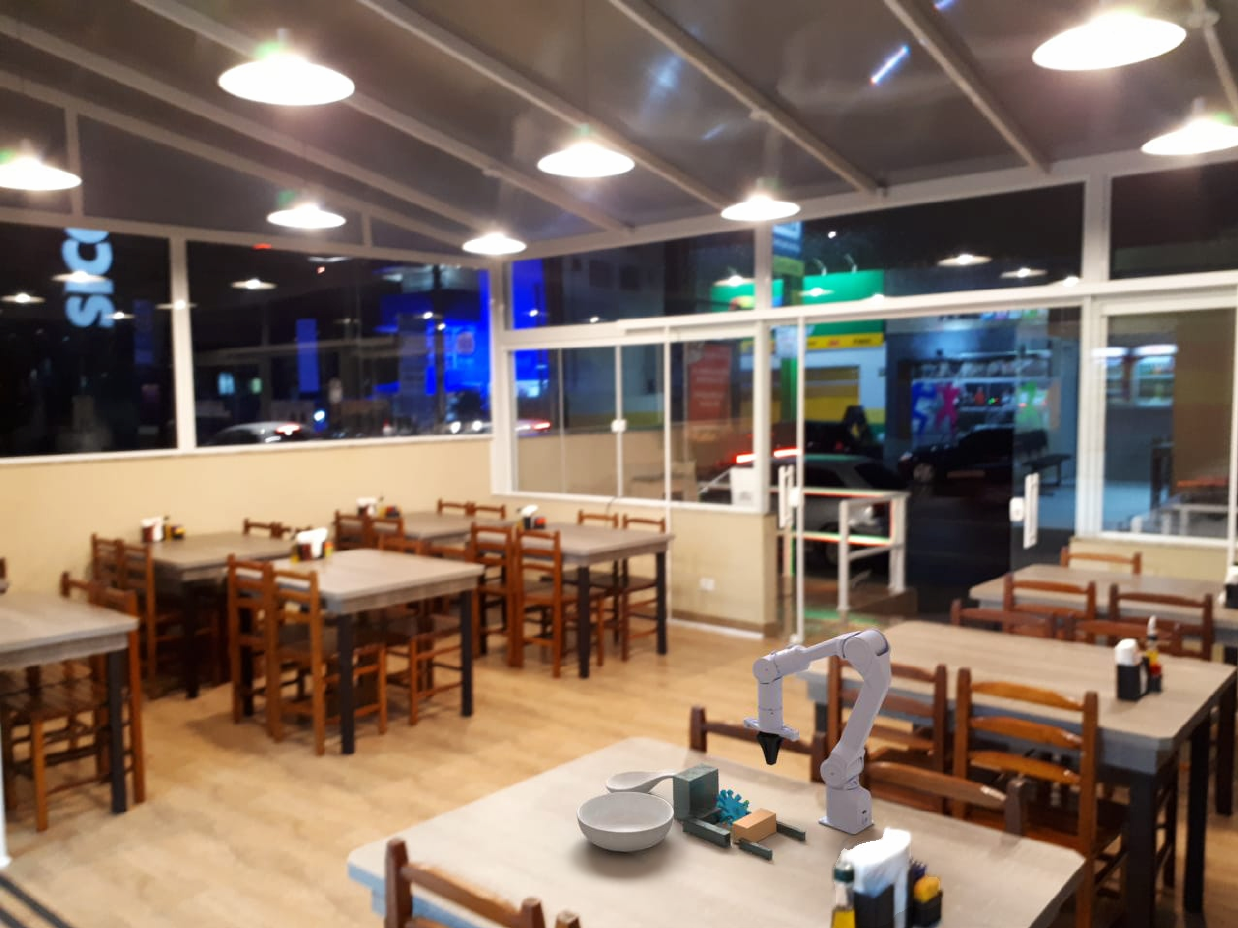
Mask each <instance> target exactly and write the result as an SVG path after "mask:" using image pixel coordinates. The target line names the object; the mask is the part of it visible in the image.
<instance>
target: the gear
mask: <svg viewBox="0 0 1238 928" xmlns="http://www.w3.org/2000/svg"><path fill="white" fill-rule="evenodd" d="M734 794H735V793H734V790H732V789H728V790H726V789H721V790H719V795H718V796H717V797H716V798H717V799H718V800H719V802H718V803H717V807H718V808H720V809H723V810H724V811H723V812H721V815H722V817H723V818H721V819H720V820H719V822H720V823H719V824H721V825H723V824H725V823H726V821H727V824H728V825H729V826H730V827H731V828H733V826H732V823H733V822H735V821H737V820H739V819H741V818H743V817H745V816H747V815H749V814H751V813H753V811H749V810H748V808H749V804H750V801H749V799H745V800H744V801H743V802H740V801H741V800H742V798H743V797H742V796H741V795H740V794H739V793H737V794H735V796H734V797H733V795H734ZM723 798H724V799H723Z"/></svg>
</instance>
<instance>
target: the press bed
mask: <svg viewBox="0 0 1238 928" xmlns="http://www.w3.org/2000/svg"><path fill="white" fill-rule="evenodd" d="M719 794H720V783H719V768H717V767H715V766H711V765H709V764H706V763H703V762H702V763H701V762H700V763H699V764H696V765H694V766H691V767H690V768H687V769H685V770H682V771H681V772H680V773H678V774H675V775H673V778H672V799H673V801H672V802H673V805H672V807H673V809H674V818H673V820H676V821H679V822H680V823H682V832H683V833H685V832H686V833H685V834H687V833H688V834H687V835H690V836H693V837H695V838H698V839H699V840H702V841H704V842H707V843H709V844H712V845H714V846H717V847H719V848H722V849H724V850H725V849H728V848H729V847H731V846H732V845H731V844H732V839H731V838H732V834H731V831H729V830H727V829H725V828H722V827H719V826H717V825H718V824H721V823H720V822H719V820H720V819H721V818H723V817H722V815H721V812H723V811H724V810H723V809H720V808H718V807H717V803H718V802H719V800H718V799H717V798H716V797H717V796H718V795H719ZM723 799H724V798H723ZM775 833H779V834H782V835H784V836H787V837H789V838H792V839H795V840H798V841H799V842H805V841H806V840H807V839H806V837H807V836H806V835H807V834H806V830H804V829H801V828H798V827H795V826H792V825H791V824H787V823H785V822H781V821H780V820H777V819H776V832H775ZM738 849H739V850H741V851H744V852H747V853H749V854H752V855H754V856H757V857H759V858H761V859H763V860H767V861H770V862H771V861H772V860H773V849H772V848H769V847H766V846H765V845H762V844H758V842H756V843H754V842H752V841H749V840H747V839H744V838H740V839H739V843H738Z"/></svg>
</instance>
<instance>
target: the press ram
mask: <svg viewBox="0 0 1238 928" xmlns="http://www.w3.org/2000/svg"><path fill="white" fill-rule="evenodd" d="M776 820H777V812H773V811H771V810H768V809H765V808H762V807H761V808H759V809H756V810H755V811H752V813H751V814H749V815H747V816H745V817H743V818H741V819H739V820H737V821H735V822H733V823H732V842H735V843H737V844H739V839H740V838H744V839H747V840H749V841H752V842H754V843H758V842H759V841H761V840H763V839H765V838H767V837H768V836H769V837H770V835H772V834H774V833H777V832H776Z"/></svg>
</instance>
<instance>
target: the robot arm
mask: <svg viewBox="0 0 1238 928" xmlns="http://www.w3.org/2000/svg"><path fill="white" fill-rule="evenodd" d="M891 650H892V647H891V644H890V643H889V641H888V638H887V637H886V635H885V634H884V633H883V632H882V631H881V630H879V629H878V628H873V627H872V628H871V627H870V628H868V629H865V630H864V631H863V632H862V630H858V631H852V632H848V633H844V634H841V635H838V636H836V637H833V638H830V639H827V640H825V641H822V642H820V643H817V644H814V645H812V646H809V647H807V648H806V647H805V646H803V645H801V644H797V645H795V644H794V643H791V644H789V645H787V646H786V648H785V649H782V650H779V651H777V650H772V651H771V652H770V653H769V654H768V655H765V656H762V657H759V658H758V659H756V661H754V663H753V664H752V673H753V676H754V677H755V679H756V681H757V718H752V717H746V718H744V719H743V728H745V729H748V728H750V729H754V730H757V731H758V733H757V734H756V735H755V738H756V740H757V741H758V744H759V745H760V748H761V750H762V753H763V756H764V759H765V762H766V765H768V766H773V765H775V764H777V760H778V756H779V753H780V749H781V747H782V745H783V742H784V740H785V739H789V740H790V741H791V742H796V741H797V740H798V741H799V739H800V732H799V731H800V730H796V729H794V728H792V727H790V726H788V725H786V724H785V722H784V714H783V713H784V706H783V704H784V703H783V696H784V695H783V683H784V682H783V680H784V677H787V676H791V675H793V674H797V673H799V672H803V671H806V670H808V669H809V667H810V666H811V663H812V662H815V661H819V660H822V659H825V658H828V657H833V656H838V657H839V658H840V659H841V660H845V659H846V660H847V662H848V663H849V664H850V665H851V666H852V667H853V668H854V670H855V671H856V672H857V673H858V674H859V675H860V676H861V677H862V680H863V683H862V686H861V688H860V691H859V694H858V696H857V698H856V701H855V703H854V706H853V707H852V711H851V712H850V715H849V717H848V721H847V723H846V724H845V727H844V730H843V732H842V734H841V737H840V740H839V741H838V743H837V744H836V745H835V747H834V748H833V749H832V751H831V752H830V755H829V757H828V758H827V759H825V760H824V761H823V762H822V763H821V764H820V769H819V773H820V776H821V778H822V780H823V782H824V783H825V807H826V808H825V809H826V810H825V815H824V816H823V817H821V818H819V819H818V820H817V821H818V823H819V824H822V825H825V826H828V827H831V828H834V829H836V830H839V831H843V832H845V833H847V834H850V835H857V834H858V833H860V832H861V831H864V830H865V829H867V828H868V827H870V826H872V825H873V824H875V823H874V820H873V819H872V816H873V815H872V814H873V811H872V806H873V805H872V795H871V792H870V791H869V790H868V789H866V788H864V787H863V786H861V784H860V775H859V774H861V773H862V771H863V770H864V756H865V753H866V750H865V749H864V748H865V744H866V742H867V740H868V737H869V735H870V733H871V731H872V729H873V726H874V724H875V721H876V719H877V716H878V714H879V713H880V710H881V707H882V705H883V702H884V700H885V699H886V696H887V693H888V691H889V689H890V686H891V684H892V681H893V675H892V674H893V673H892V666H891V657H890V656H891Z"/></svg>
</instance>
